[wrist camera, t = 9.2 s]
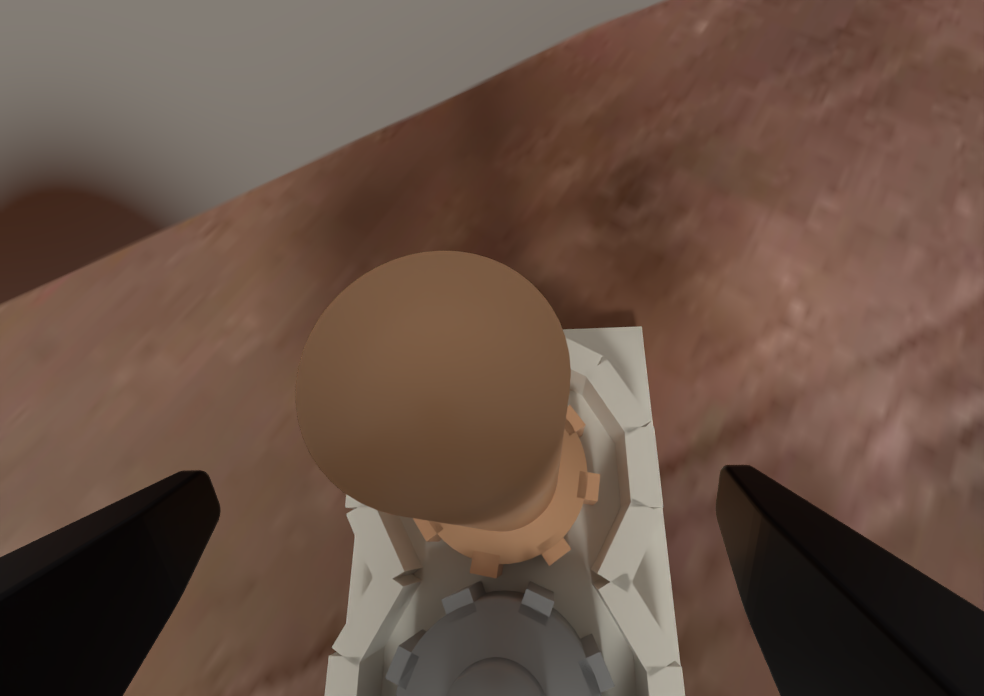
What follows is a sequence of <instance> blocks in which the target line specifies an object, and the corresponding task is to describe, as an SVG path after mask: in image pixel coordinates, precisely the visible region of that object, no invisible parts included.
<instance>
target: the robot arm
mask: <svg viewBox="0 0 984 696" xmlns="http://www.w3.org/2000/svg"><path fill="white" fill-rule="evenodd" d="M716 516H717V520H718V524H719V527H720V531H721V534H722V537H723V541H724V544H725V547H726V551H727V554H728V557H729V560H730V564H731V567H732V570H733V574H734V577H735V580H736V584H737V587H738V590H739V594H740V597H741V600H742V603H743V606H744V609H745V612H746V614H747V617H748V619H749V622H750V625H751V627H752V629H753V632H754V634H755V636H756V639H757V641H758V644H759V646H760V648H761V651H762V653H763V655H764V658H765V660H766V662H767V665H768V667H769V669H770V672H771V674H772V677H773V679H774V681H775V684H776V686H777V688H778V691H779V693H780V695H781V696H984V611H982V610H981V609H979V608H978V607H976V606H974V605H973V604H971V603H970V602H968V601H966V600H965V599H963V598H962V597H960V596H958V595H957V594H955V593H954V592H952V591H950V590H949V589H947V588H946V587H944V586H942V585H941V584H939V583H938V582H936V581H935V580H933V579H931V578H930V577H928V576H927V575H925V574H923V573H922V572H920V571H919V570H917V569H915V568H914V567H912V566H911V565H909V564H907V563H906V562H904V561H903V560H901V559H899V558H898V557H896V556H895V555H893V554H891V553H890V552H888V551H887V550H885V549H883V548H882V547H880V546H879V545H877V544H875V543H874V542H872V541H871V540H869V539H867V538H866V537H864V536H863V535H861V534H859V533H858V532H856V531H855V530H853V529H851V528H850V527H848V526H847V525H845V524H843V523H842V522H840V521H839V520H837V519H835V518H834V517H832V516H831V515H829V514H827V513H826V512H824V511H823V510H821V509H819V508H818V507H816V506H815V505H813V504H811V503H810V502H808V501H807V500H805V499H803V498H802V497H800V496H799V495H797V494H795V493H794V492H792V491H791V490H789V489H787V488H786V487H784V486H783V485H781V484H779V483H778V482H776V481H775V480H773V479H771V478H770V477H768V476H767V475H765V474H763V473H762V472H760V471H759V470H757V469H755V468H754V467H752V466H750V465H725V466H724V467H723V468H722V469H721V472H720V477H719V485H718V492H717V500H716ZM219 517H220V504H219V501H218V498H217V496H216V493H215V490H214V487H213V485H212V482H211V479H210V477H209V475H208V474H207V473H206V472H204V471H201V470H191V471H180V472H177V473H175V474H173V475H171V476H169V477H167V478H165V479H163V480H161V481H159V482H157V483H155V484H152V485H150V486H148V487H146V488H144V489H142V490H140V491H138V492H136V493H134V494H132V495H129V496H127V497H125V498H123V499H121V500H119V501H117V502H115V503H113V504H111V505H109V506H107V507H104V508H102V509H100V510H98V511H96V512H94V513H92V514H90V515H88V516H86V517H84V518H81V519H79V520H77V521H75V522H73V523H71V524H69V525H67V526H65V527H63V528H61V529H59V530H56V531H54V532H52V533H50V534H48V535H46V536H44V537H42V538H40V539H38V540H36V541H33V542H31V543H29V544H27V545H25V546H23V547H21V548H19V549H17V550H15V551H13V552H11V553H8V554H6V555H4V556H2V557H0V696H123V694H124V693H125V691H126V689H127V688H128V686H129V684H130V683H131V681H132V679H133V678H134V676H135V674H136V673H137V671H138V669H139V668H140V666H141V664H142V663H143V661H144V659H145V658H146V656H147V654H148V653H149V651H150V649H151V648H152V646H153V644H154V643H155V641H156V639H157V638H158V636H159V634H160V632H161V631H162V629H163V627H164V626H165V624H166V622H167V621H168V619H169V617H170V616H171V614H172V612H173V611H174V609H175V607H176V605H177V604H178V602H179V600H180V598H181V596H182V594H183V592H184V590H185V588H186V586H187V584H188V582H189V580H190V578H191V576H192V574H193V572H194V570H195V568H196V566H197V564H198V562H199V560H200V558H201V555H202V553H203V551H204V549H205V547H206V545H207V543H208V541H209V539H210V537H211V535H212V533H213V531H214V529H215V526H216V524H217V522H218V520H219Z"/></svg>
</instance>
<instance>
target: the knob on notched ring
mask: <svg viewBox="0 0 984 696" xmlns="http://www.w3.org/2000/svg"><path fill="white" fill-rule="evenodd" d="M570 378H571V368H570V355H569V350H568V346H567V341H566V337H565V334H564V332H563V329H562V327H561V324H560V321H559V320H558V318H557V316H556V314H555V312H554V310H553V309H552V307H551V305H550V304H549V303H548V301H547V300H546V299H545V297H544V296H543V295H542V294H541V292H540V291H539V290H538V289H537V288H536V287H535V286H534V285H533V284H532V283H531V282H529V281H528V280H527V279H526V278H524V277H523V276H522V275H520V274H519V273H518V272H516V271H514V270H513V269H511V268H509V267H508V266H506V265H504V264H502V263H500V262H497V261H495V260H493V259H490V258H487V257H484V256H480V255H477V254H473V253H466V252H460V251H442V250H441V251H428V252H421V253H416V254H411V255H407V256H404V257H400V258H397V259H394V260H391V261H389V262H387V263H385V264H382V265H380V266H378V267H376V268H374V269H372V270H371V271H369V272H367V273H365V274H364V275H362V276H361V277H360V278H358V279H357V280H355V281H354V282H353V283H351V284H350V285H349V286H348V287H347V288H345V289H344V290H343V291H342V292H341V293H340V294H339V295H338V296H337V297H336V298H335V299H334V300H333V301H332V302H331V304H330V305H329V306H328V307H327V308H326V310H325V311H324V312H323V314H322V315H321V317H320V318H319V319H318V321H317V322H316V324H315V326H314V328H313V330H312V332H311V333H310V335H309V337H308V340H307V342H306V345H305V347H304V350H303V352H302V356H301V359H300V363H299V367H298V372H297V380H296V410H297V417H298V422H299V426H300V430H301V433H302V437H303V439H304V441H305V444H306V446H307V448H308V450H309V453H310V454H311V456H312V457H313V459H314V461H315V462H316V464H317V465H318V467H319V468H320V469H321V471H322V472H323V473H324V474H325V475H326V476H327V478H328V479H329V480H330V481H331V482H332V483H333V484H334V485H336V486H337V487H338V488H339V489H340V490H341V491H343V492H344V493H345V494H347V495H348V496H350V497H352V498H353V499H355V500H356V501H358V502H360V503H362V504H364V505H366V506H369V507H371V508H373V509H375V510H378V511H382V512H385V513H389V514H393V515H397V516H403V517H409V518H413V520H414V521H415V523H416V525H417V526H418V528H419V530H420V532H421V533H422V535H423V537H424V538H425V540H426V542H439V541H440V540H443V541H444V542H446V543H447V544H448V545H449V546H450V547H452V548H453V549H454V550H456V551H458V552H459V553H461V554H463V555H465V556H467V557H469V558H472V562H471V567H470V573H472V574H477V575H482V576H486V577H491V578H498V577H499V576H501V575H502V571H503V564H512V563H518V562H522V561H526V560H529V559H532V558H534V557H536V556H538V555H542V556H543V558H544V559H545V560H546V562H547V563H548V565H549V566H550V565H552V564H553V563H554V562H555V561H557V560H558V559H559V558H561V557H562V556H563V555H564V554H566V553H567V552H568V551H570V550H571V548H570V546H569V545H568V544H567V542H566V541H565V539H564V538H563V537H564V536H565V535H566V533H567V532H568V531H569V530H570V529H571V527H572V525H573V524H574V522H575V521H576V519H577V517H578V515H579V513H580V511H581V508H582V505H583V504H589V505H594V504H595V503H596V502H597V501H598V492H599V482H600V474H596V473H590V472H587V462H586V457H585V453H584V449H583V447H582V444H581V441H580V439H579V438H580V437H581V436H582V435H583V431H584V428H585V425H586V424H585V423H584V422H583V421H582V419H581V418H580V417H579V416H578V414H577V413H576V412H575V411H574V409H573V408H572V407H571V405H569V406H568V400H569V392H570Z"/></svg>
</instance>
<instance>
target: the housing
mask: <svg viewBox="0 0 984 696" xmlns="http://www.w3.org/2000/svg"><path fill="white" fill-rule="evenodd" d="M563 332H564V334H565V337H566V341H567V346H568V350H569V355H570V368H571V378H570V392H569V400H568V406H569V405H571V407H572V408H573V409H574V411H575V412H576V413H577V414H578V416H579V417H580V418H581V419H582V421H583V422H584V423H585V424H586V425H585V428H584V431H583V435H582V436H581V437H580V438H579V439H580V441H581V444H582V447H583V449H584V453H585V457H586V462H587V472H590V473H596V474H600V482H599V492H598V501H597V502H596V503H595V504H594V505H589V504H583V505H582V508H581V511H580V513H579V515H578V517H577V519H576V521H575V522H574V524H573V525H572V527H571V529H570V530H569V531H568V532H567V533H566V535H565V536H564V537H563V538H564V539H565V541H566V542H567V544H568V545H569V546H570V548H571V550H570V551H568V552H567V553H566V554H564V555H563V556H562V557H561V558H559V559H558V560H557V561H555V562H554V563H553V564H552V565H550V566H549V565H548V563H547V562H546V560H545V559H544V558H543V556H542V555H538V556H536V557H534V558H532V559H529V560H526V561H522V562H518V563H512V564H503V571H502V575H501V576H499V577H498V578H491V577H486V576H482V575H477V574H472V573H470V567H471V562H472V558H469V557H467V556H465V555H463V554H461V553H459V552H458V551H456V550H454V549H453V548H452V547H450V546H449V545H448V544H447V543H446V542H444V541H443V540H440V541H439V542H426V540H425V538H424V537H423V535H422V533H421V532H420V530H419V528H418V526H417V525H416V523H415V521H414V520H413V518H409V517H403V516H397V515H393V514H389V513H385V512H382V511H378V510H375V509H373V508H371V507H369V506H366V505H364V504H362V503H360V502H358V501H356V500H355V499H353V498H352V497H350V496H348V495H347V494H346V503H345V507H347V508H353V509H354V510H352V511H350V512H349V513H347V514H346V515H347V518H348V520H349V522H350V525H351V527H352V530H353V532H354V534H355V540H354V550H353V560H352V570H351V580H350V590H349V600H348V610H347V620H346V624H345V626H344V628H343V629H342V631H341V633H340V635H339V636H338V638H337V640H336V641H335V643H334V645H333V646H332V648H333V649H334V650H335V651H337V652H335V653H334V654H332V655H330V656H329V659H328V669H327V678H326V687H325V696H685V690H684V681H683V673H682V667H681V665H680V657H679V648H678V639H677V631H676V622H675V613H674V604H673V596H672V587H671V578H670V569H669V561H668V552H667V543H666V535H665V526H664V517H663V508H662V507H663V500H662V491H661V482H660V474H659V465H658V456H657V448H656V439H655V430H654V427H653V421H652V413H651V404H650V395H649V386H648V378H647V369H646V360H645V352H644V343H643V334H642V326H641V327H615V328H589V329H563Z"/></svg>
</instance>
